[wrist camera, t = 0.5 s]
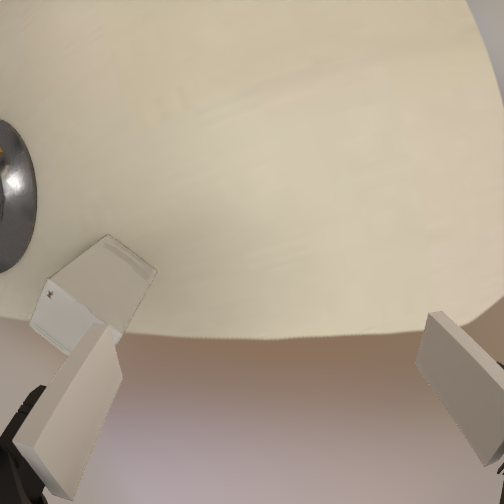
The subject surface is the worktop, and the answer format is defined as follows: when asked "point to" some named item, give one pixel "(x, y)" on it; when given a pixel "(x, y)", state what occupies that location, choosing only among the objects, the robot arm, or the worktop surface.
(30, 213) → the bowl
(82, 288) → the skincare box
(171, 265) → the worktop surface
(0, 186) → the ring nut
